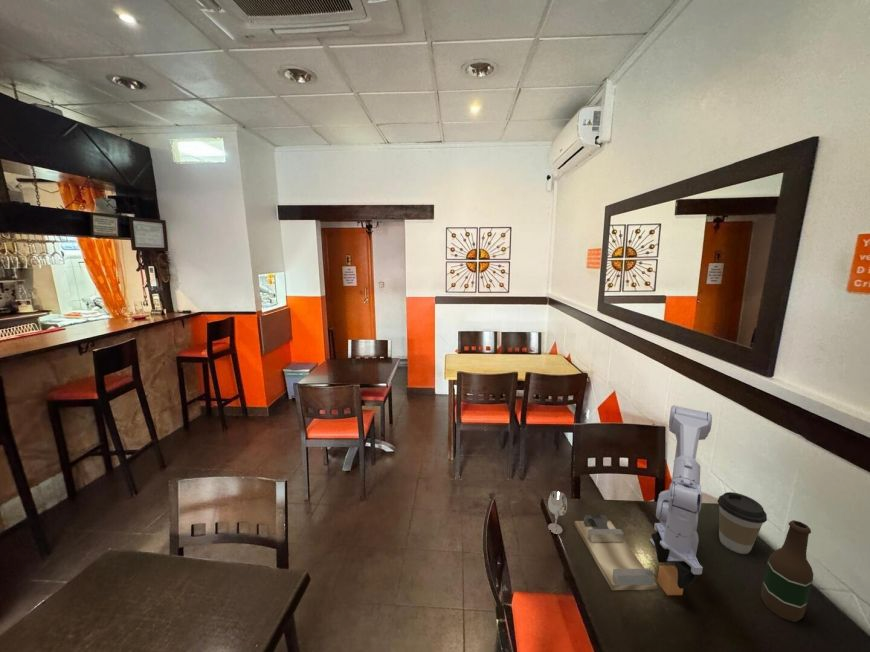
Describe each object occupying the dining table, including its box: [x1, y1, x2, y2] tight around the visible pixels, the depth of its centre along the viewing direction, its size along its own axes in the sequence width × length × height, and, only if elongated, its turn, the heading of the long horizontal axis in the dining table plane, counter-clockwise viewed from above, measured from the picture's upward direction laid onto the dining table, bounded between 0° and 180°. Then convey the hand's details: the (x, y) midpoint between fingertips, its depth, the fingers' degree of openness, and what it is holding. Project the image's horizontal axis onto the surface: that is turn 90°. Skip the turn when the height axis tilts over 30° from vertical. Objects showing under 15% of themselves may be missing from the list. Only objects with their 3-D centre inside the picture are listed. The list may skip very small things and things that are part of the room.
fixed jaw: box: [612, 568, 656, 585], centre depth 91 cm, size 10×2×3 cm, turn 92°
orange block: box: [656, 565, 684, 596], centre depth 91 cm, size 4×4×5 cm
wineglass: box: [547, 490, 568, 535], centre depth 110 cm, size 6×6×12 cm
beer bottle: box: [760, 519, 814, 623], centre depth 84 cm, size 8×8×24 cm
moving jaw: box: [583, 514, 625, 542], centre depth 108 cm, size 10×8×3 cm
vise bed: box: [574, 520, 658, 591], centre depth 102 cm, size 12×23×2 cm, turn 2°
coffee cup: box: [716, 491, 768, 555], centre depth 105 cm, size 11×11×15 cm
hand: (671, 573), depth 90 cm, fingers open, 7 cm apart
